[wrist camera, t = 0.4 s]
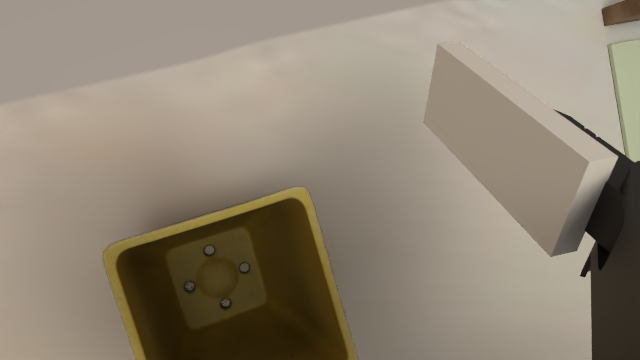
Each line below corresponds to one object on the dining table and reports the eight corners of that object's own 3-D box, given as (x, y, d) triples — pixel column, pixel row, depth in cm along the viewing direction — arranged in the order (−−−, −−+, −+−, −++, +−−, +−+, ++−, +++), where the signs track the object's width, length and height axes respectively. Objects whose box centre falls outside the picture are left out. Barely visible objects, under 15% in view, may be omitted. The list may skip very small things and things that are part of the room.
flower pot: (270, 180, 31) (309, 182, 23) (310, 318, 32) (363, 371, 24) (118, 226, 29) (97, 248, 21) (165, 373, 30) (165, 454, 21)
